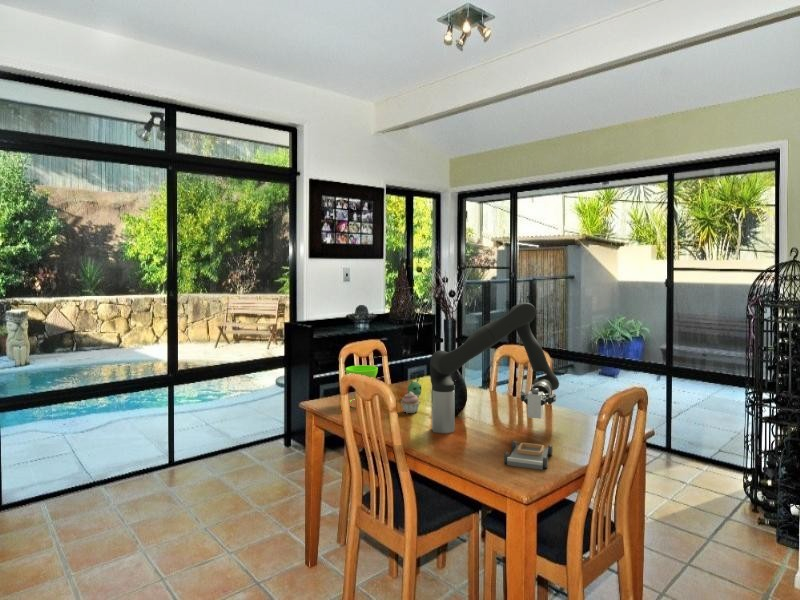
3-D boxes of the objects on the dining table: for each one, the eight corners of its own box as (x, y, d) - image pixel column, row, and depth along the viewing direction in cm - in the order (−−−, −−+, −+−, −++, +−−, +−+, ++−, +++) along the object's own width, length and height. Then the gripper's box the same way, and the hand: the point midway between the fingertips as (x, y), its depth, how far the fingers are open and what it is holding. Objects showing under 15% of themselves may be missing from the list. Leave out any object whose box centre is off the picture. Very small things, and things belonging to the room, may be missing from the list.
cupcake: (405, 408, 266) (405, 388, 265) (423, 410, 261) (423, 390, 261) (397, 413, 257) (396, 392, 257) (415, 415, 253) (415, 394, 252)
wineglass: (374, 409, 265) (374, 372, 264) (342, 407, 268) (341, 371, 266) (381, 400, 281) (380, 365, 280) (350, 399, 283) (350, 364, 282)
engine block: (540, 418, 206) (541, 391, 205) (527, 417, 208) (527, 389, 207) (542, 415, 211) (543, 388, 210) (529, 413, 213) (529, 387, 212)
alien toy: (414, 400, 280) (414, 381, 280) (405, 397, 286) (405, 378, 286) (424, 398, 284) (424, 379, 284) (415, 395, 291) (415, 377, 290)
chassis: (546, 470, 186) (546, 459, 186) (503, 464, 192) (503, 454, 192) (552, 453, 203) (552, 443, 203) (513, 448, 208) (513, 438, 208)
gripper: (522, 381, 225) (515, 390, 209) (559, 384, 219) (554, 394, 203) (522, 399, 225) (514, 410, 209) (558, 403, 220) (553, 414, 204)
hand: (534, 402), depth 206 cm, fingers closed on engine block, 5 cm apart
